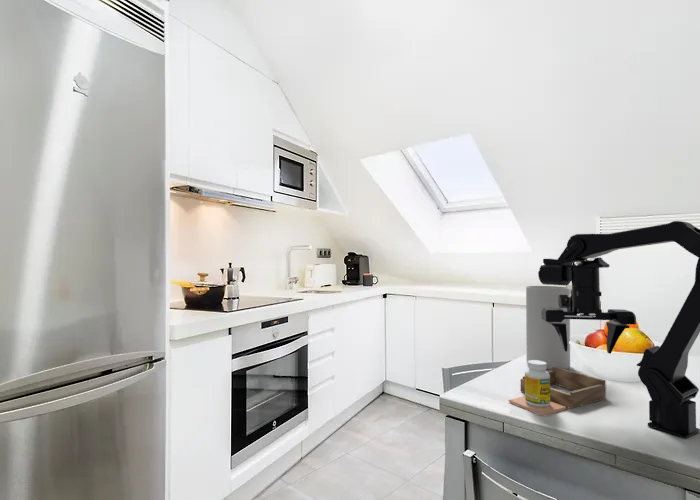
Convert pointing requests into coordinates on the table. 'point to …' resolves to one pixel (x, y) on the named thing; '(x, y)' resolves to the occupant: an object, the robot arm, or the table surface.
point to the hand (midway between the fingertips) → (587, 352)
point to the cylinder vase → (545, 327)
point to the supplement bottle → (537, 384)
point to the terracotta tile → (539, 410)
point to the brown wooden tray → (574, 388)
